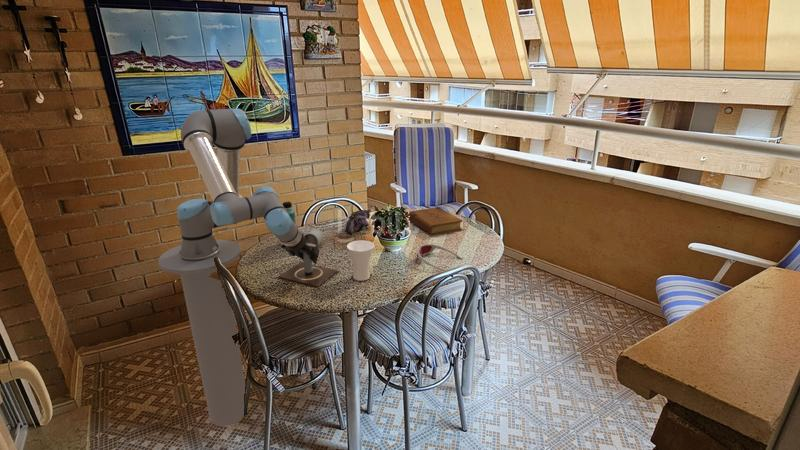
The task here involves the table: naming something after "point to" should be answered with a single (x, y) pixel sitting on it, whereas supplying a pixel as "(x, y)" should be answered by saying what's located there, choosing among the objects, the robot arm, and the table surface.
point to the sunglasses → (428, 249)
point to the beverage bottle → (290, 210)
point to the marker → (307, 264)
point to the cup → (360, 258)
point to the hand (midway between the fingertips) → (311, 260)
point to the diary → (435, 221)
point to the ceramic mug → (314, 237)
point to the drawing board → (308, 275)
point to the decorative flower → (357, 221)
